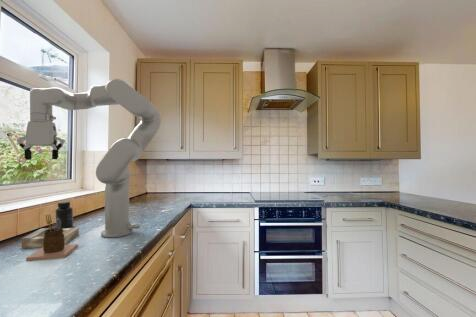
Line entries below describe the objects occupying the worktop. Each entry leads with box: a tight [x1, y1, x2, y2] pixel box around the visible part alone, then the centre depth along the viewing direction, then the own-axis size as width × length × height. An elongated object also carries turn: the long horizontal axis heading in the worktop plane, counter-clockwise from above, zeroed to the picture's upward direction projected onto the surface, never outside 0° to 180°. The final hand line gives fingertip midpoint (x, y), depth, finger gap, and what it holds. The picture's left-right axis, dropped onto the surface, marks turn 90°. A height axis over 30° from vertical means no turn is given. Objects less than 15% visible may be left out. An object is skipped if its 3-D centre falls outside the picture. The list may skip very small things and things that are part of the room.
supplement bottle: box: [55, 201, 74, 229], centre depth 123 cm, size 7×7×12 cm
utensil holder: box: [43, 214, 65, 253], centre depth 89 cm, size 6×6×12 cm
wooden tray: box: [21, 227, 80, 249], centre depth 103 cm, size 14×14×4 cm
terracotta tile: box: [25, 243, 79, 262], centre depth 89 cm, size 11×11×1 cm
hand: (41, 159), depth 109 cm, fingers open, 9 cm apart
